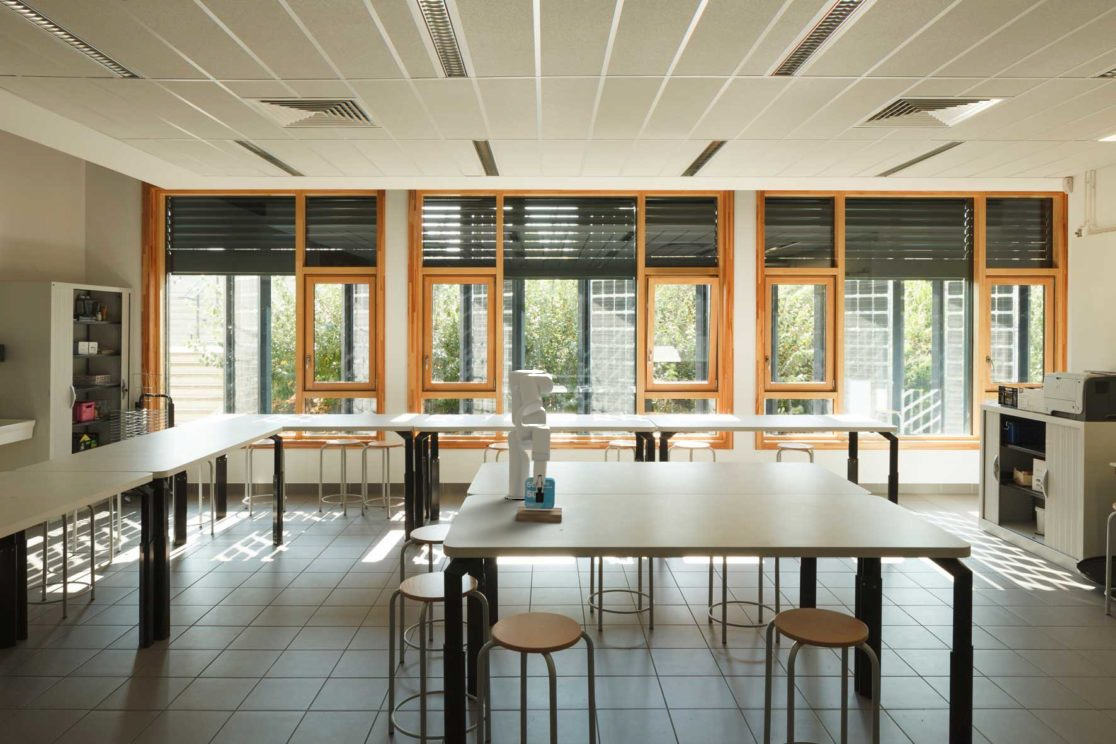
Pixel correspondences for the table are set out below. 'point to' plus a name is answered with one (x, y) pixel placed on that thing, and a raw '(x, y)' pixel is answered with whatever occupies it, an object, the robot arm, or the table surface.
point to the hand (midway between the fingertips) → (539, 500)
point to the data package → (547, 490)
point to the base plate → (539, 515)
